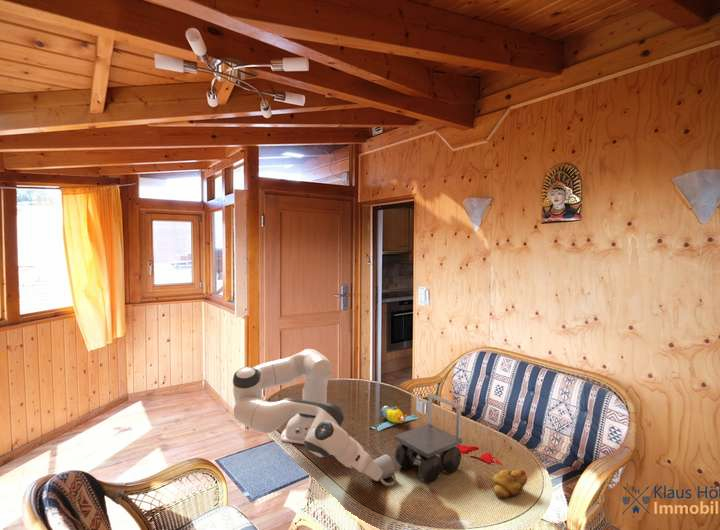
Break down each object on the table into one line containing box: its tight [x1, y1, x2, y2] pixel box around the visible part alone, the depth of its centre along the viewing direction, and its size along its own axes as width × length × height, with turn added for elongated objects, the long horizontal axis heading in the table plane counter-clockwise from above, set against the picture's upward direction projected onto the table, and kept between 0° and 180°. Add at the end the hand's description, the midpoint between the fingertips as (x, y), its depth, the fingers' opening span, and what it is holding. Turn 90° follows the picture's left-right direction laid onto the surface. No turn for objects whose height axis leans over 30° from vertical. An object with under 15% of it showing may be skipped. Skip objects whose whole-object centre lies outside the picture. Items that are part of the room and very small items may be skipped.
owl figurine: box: [371, 405, 420, 432], centre depth 205 cm, size 28×9×15 cm
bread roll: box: [492, 469, 528, 499], centre depth 147 cm, size 13×10×8 cm
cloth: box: [455, 444, 503, 466], centre depth 174 cm, size 26×14×2 cm, turn 36°
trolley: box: [394, 393, 463, 484], centre depth 161 cm, size 21×18×26 cm
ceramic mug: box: [371, 454, 397, 487], centre depth 154 cm, size 11×8×8 cm
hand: (371, 471), depth 153 cm, fingers closed, pressing on ceramic mug
